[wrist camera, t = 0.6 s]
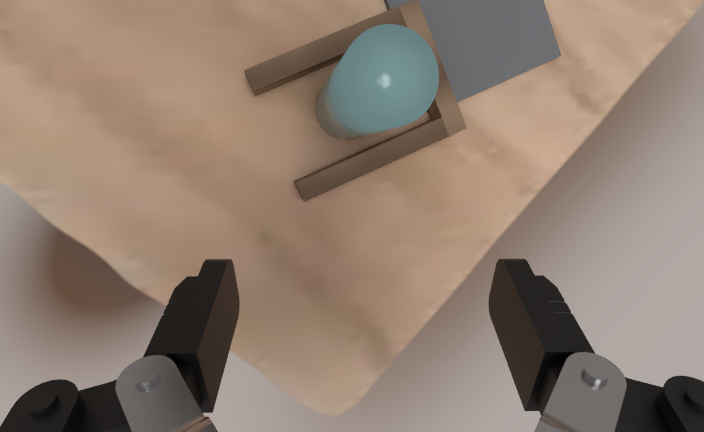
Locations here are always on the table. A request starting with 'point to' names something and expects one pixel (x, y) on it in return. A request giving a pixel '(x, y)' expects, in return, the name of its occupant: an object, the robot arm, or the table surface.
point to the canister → (378, 83)
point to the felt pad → (487, 39)
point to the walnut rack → (332, 50)
